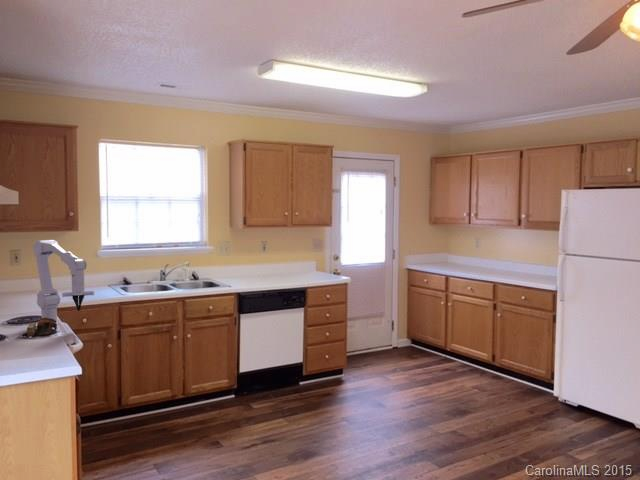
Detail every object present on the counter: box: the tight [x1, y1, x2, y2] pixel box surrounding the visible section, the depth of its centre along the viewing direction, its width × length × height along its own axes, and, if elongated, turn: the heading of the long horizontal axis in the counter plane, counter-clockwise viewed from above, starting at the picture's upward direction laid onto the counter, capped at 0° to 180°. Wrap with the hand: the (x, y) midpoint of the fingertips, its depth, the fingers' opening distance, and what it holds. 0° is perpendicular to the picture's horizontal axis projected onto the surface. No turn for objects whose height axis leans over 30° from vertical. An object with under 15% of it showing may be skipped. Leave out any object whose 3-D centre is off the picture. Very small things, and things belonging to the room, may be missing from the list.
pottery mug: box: [34, 318, 58, 335], centre depth 261 cm, size 12×10×8 cm
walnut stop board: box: [26, 322, 37, 337], centre depth 259 cm, size 12×2×4 cm, turn 22°
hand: (78, 310), depth 268 cm, fingers closed
